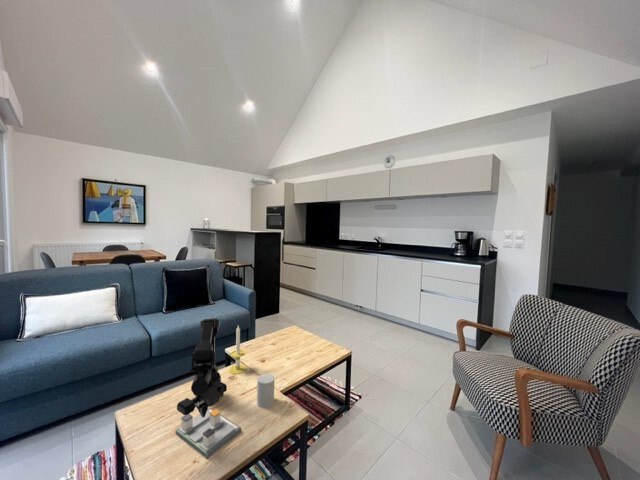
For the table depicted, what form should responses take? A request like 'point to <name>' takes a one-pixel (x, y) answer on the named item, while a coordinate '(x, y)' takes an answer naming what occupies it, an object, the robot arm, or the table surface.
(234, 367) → the candle
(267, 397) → the grey cylinder
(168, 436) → the table surface
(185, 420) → the toggle left
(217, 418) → the toggle mid
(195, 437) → the panel
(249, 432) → the table surface
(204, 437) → the toggle right
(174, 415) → the table surface
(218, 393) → the robot arm
